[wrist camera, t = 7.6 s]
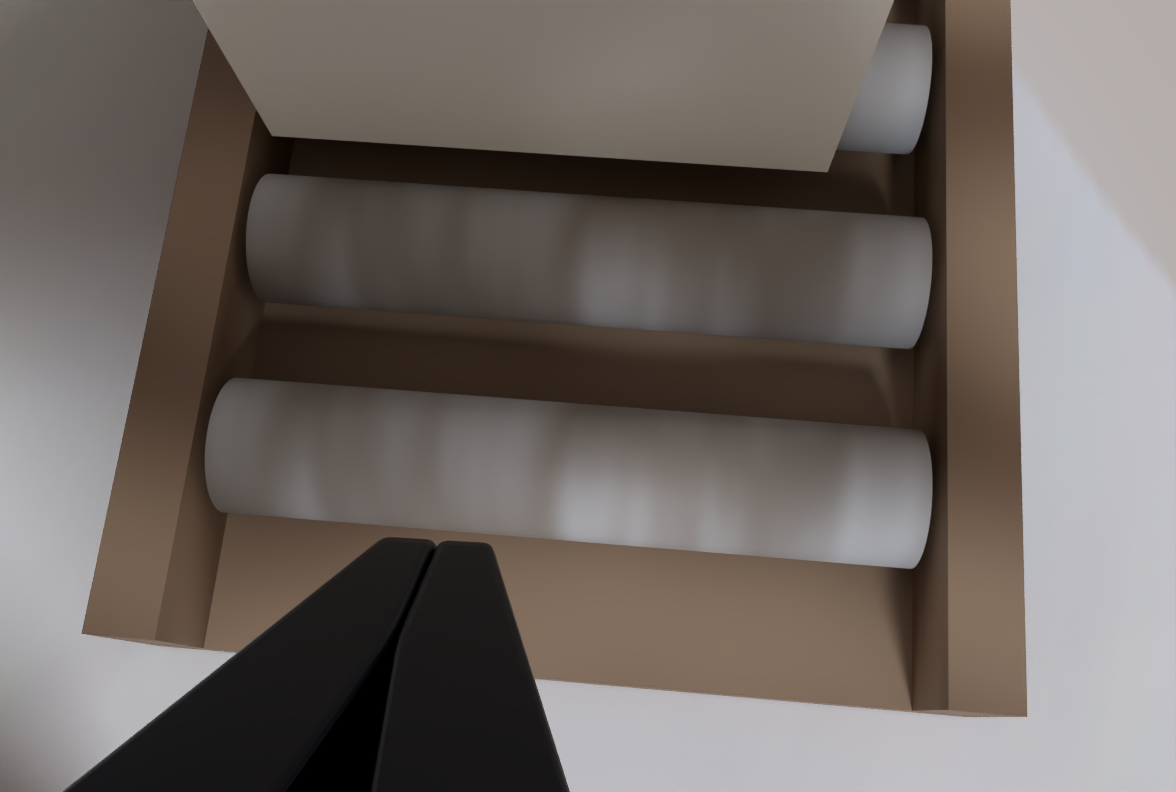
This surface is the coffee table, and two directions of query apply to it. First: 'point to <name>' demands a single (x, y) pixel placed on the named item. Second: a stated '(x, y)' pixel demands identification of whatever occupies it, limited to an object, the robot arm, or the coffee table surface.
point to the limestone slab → (560, 74)
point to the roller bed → (606, 392)
